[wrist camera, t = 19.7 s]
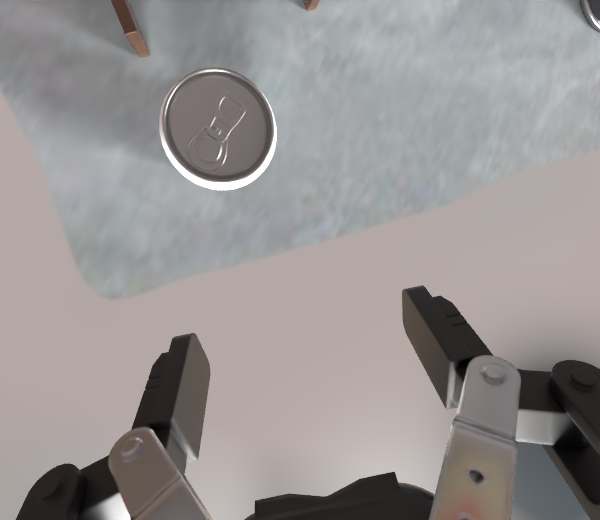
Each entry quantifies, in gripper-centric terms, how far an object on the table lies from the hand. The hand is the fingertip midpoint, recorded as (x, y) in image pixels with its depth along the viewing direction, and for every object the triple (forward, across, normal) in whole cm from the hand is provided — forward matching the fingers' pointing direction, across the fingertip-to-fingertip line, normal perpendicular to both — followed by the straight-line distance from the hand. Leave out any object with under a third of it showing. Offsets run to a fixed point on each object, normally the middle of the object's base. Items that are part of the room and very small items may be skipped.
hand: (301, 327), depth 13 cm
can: (+21, +4, -3) cm, 21 cm away
